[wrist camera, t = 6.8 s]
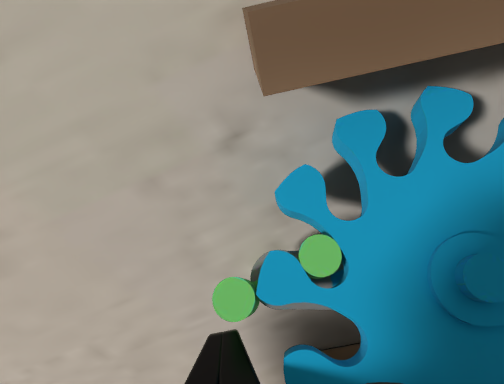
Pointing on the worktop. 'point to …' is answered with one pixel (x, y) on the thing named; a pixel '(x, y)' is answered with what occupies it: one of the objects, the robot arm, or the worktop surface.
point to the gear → (395, 258)
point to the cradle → (361, 44)
